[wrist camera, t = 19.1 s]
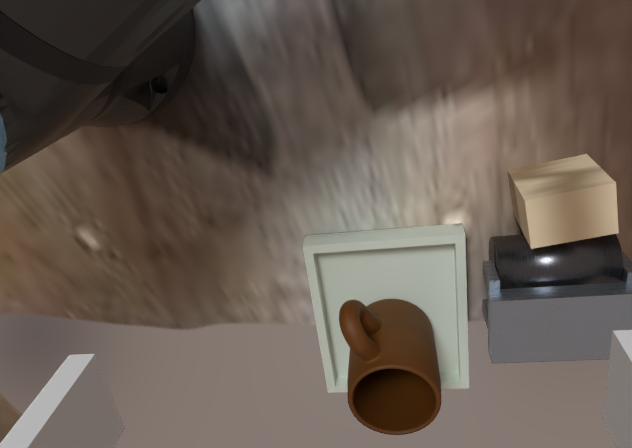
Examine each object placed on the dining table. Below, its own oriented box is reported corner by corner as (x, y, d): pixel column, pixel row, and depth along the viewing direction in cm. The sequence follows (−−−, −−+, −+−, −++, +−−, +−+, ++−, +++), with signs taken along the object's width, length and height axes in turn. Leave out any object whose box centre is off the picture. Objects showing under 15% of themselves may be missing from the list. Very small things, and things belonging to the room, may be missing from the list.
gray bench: (477, 312, 50) (491, 363, 44) (476, 227, 46) (491, 270, 40) (605, 305, 48) (638, 358, 42) (615, 216, 44) (653, 259, 38)
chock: (513, 214, 45) (531, 248, 40) (507, 170, 44) (524, 200, 38) (589, 199, 44) (618, 233, 39) (586, 153, 42) (615, 182, 37)
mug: (312, 278, 50) (298, 344, 41) (387, 244, 47) (388, 307, 39) (375, 370, 54) (374, 447, 45) (446, 343, 51) (459, 419, 43)
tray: (329, 378, 55) (328, 392, 54) (305, 235, 48) (302, 246, 47) (466, 374, 53) (469, 388, 51) (461, 223, 46) (465, 234, 44)
